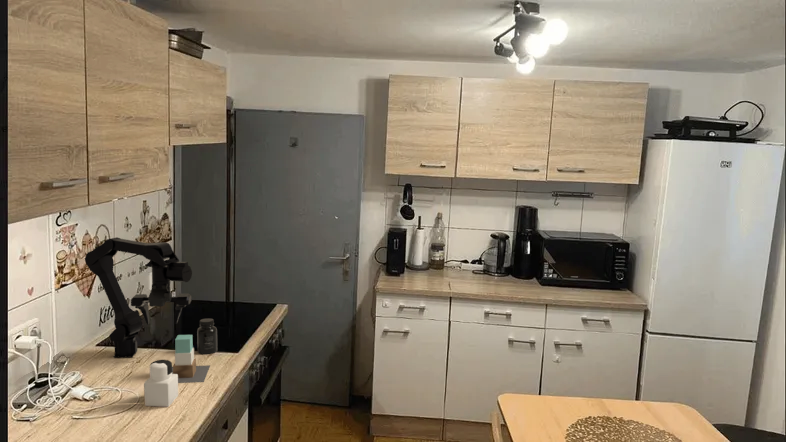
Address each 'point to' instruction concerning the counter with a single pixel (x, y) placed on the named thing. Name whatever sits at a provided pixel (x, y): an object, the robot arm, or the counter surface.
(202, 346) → the supplement bottle
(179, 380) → the mat
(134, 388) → the counter surface
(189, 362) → the tower mid
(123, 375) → the counter surface
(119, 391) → the counter surface
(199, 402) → the counter surface
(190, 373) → the tower base
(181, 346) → the teal cube
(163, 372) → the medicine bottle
